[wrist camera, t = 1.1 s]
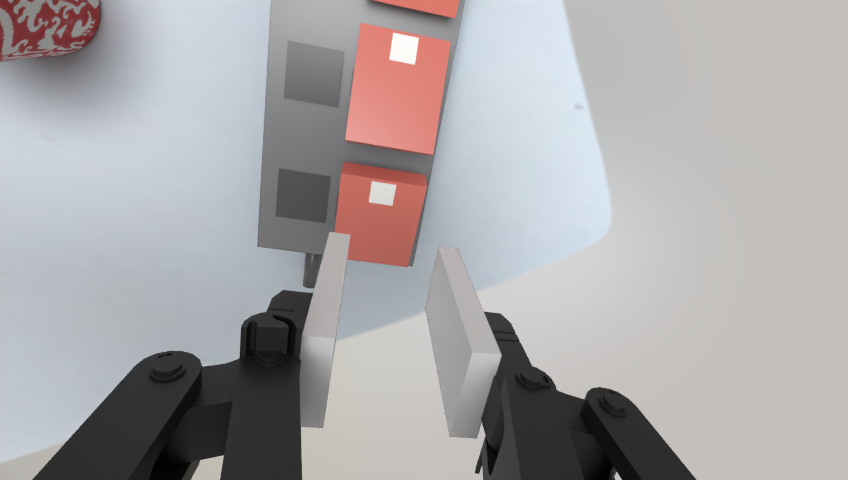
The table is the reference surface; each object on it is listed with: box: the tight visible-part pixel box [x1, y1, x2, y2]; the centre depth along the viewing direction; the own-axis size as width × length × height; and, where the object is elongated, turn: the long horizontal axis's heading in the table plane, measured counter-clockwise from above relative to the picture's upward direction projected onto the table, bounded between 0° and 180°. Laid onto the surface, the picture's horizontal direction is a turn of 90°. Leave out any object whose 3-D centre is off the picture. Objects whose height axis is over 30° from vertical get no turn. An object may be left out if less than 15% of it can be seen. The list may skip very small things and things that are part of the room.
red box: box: [345, 23, 451, 156], centre depth 29 cm, size 6×7×2 cm
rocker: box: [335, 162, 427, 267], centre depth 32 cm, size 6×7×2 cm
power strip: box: [257, 0, 465, 288], centre depth 32 cm, size 12×30×5 cm, turn 169°
